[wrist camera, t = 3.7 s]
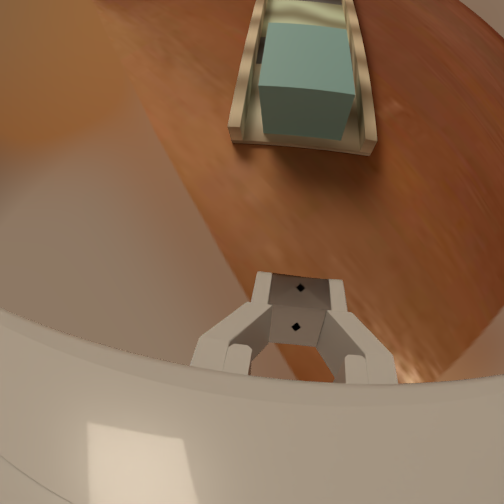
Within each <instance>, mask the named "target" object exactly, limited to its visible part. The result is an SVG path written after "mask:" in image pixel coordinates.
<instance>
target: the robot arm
mask: <svg viewBox="0 0 504 504" xmlns="http://www.w3.org/2000/svg"><path fill="white" fill-rule="evenodd" d="M268 342H272V343H284V344H296V345H304V346H313V347H316V348H317V350H318V352H319V353H320V355H321V356H322V358H323V360H324V361H325V363H326V364H327V366H328V367H329V369H330V371H331V372H332V374H333V375H334V377H335V380H334V382H333V383H326V382H310V381H297V380H286V379H275V378H267V377H258V376H251V375H250V374H251V362H252V360H253V359H254V358H255V357H256V356H257V355H258V354H259V353H260V352H261V351H262V350H263V349H264V348H265V346H266V345H267V344H268ZM0 504H504V374H502V375H495V376H489V377H481V378H474V379H464V380H455V381H442V382H428V383H405V384H398V380H397V375H396V369H395V364H394V359H393V355H392V354H391V353H390V352H389V351H388V350H387V349H386V348H385V347H384V345H383V344H382V343H381V342H380V341H379V340H378V339H377V338H376V337H375V336H374V335H373V334H372V333H371V332H370V331H369V330H368V329H367V328H366V327H365V326H364V325H363V324H362V323H361V321H360V320H359V319H358V318H357V317H356V316H355V315H354V314H353V313H352V312H348V311H347V304H346V297H345V291H344V284H343V281H342V280H337V279H320V278H309V277H301V276H293V275H285V274H277V273H273V274H272V273H268V272H260V271H258V273H257V276H256V280H255V285H254V290H253V295H252V300H251V302H246V303H245V304H243V305H242V306H241V307H239V308H238V309H237V310H235V311H234V312H233V313H231V314H230V315H229V316H227V317H226V318H225V319H223V320H222V321H221V322H219V323H218V324H217V325H215V326H214V327H213V328H211V329H210V330H208V331H207V332H206V333H204V334H203V335H202V336H200V337H199V340H198V343H197V346H196V349H195V352H194V354H193V358H192V360H191V363H190V366H189V365H184V364H179V363H174V362H170V361H165V360H161V359H156V358H152V357H148V356H144V355H139V354H136V353H131V352H128V351H124V350H120V349H117V348H113V347H110V346H106V345H103V344H99V343H96V342H92V341H89V340H86V339H83V338H80V337H77V336H74V335H70V334H68V333H65V332H62V331H59V330H56V329H53V328H50V327H48V326H45V325H42V324H39V323H37V322H34V321H32V320H29V319H27V318H24V317H22V316H19V315H17V314H15V313H12V312H10V311H8V310H6V309H3V308H1V307H0Z"/></svg>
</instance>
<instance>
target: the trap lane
mask: <svg viewBox="0 0 504 504" xmlns="http://www.w3.org/2000/svg"><path fill="white" fill-rule="evenodd" d="M268 22H269V23H292V24H305V25H316V26H325V27H332V28H340V29H346V30H347V36H348V42H349V48H350V55H351V62H352V70H353V78H354V87H355V97H354V101H353V104H352V107H351V110H350V114H349V117H348V120H347V123H346V126H345V129H344V132H343V136H342V139H341V141H339V140H332V139H323V138H315V137H305V136H294V135H282V134H267V133H263V124H262V115H261V106H260V97H259V88H258V84H259V78H260V71H261V65H262V59H263V53H264V46H265V40H266V34H267V28H268ZM228 130H229V134H230V137H231V141H232V143H244V144H263V145H277V146H290V147H301V148H311V149H320V150H328V151H336V152H344V153H351V154H358V155H365V156H370V154H371V152H372V150H373V148H374V147H375V145H376V143H377V132H376V122H375V113H374V105H373V98H372V91H371V84H370V78H369V72H368V66H367V61H366V55H365V50H364V45H363V41H362V36H361V32H360V27H359V23H358V19H357V15H356V11H355V7H354V3H353V0H256V3H255V7H254V11H253V14H252V18H251V22H250V26H249V31H248V35H247V39H246V43H245V47H244V52H243V56H242V60H241V65H240V69H239V74H238V78H237V83H236V88H235V92H234V97H233V102H232V107H231V112H230V116H229V121H228Z"/></svg>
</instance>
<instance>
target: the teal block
mask: <svg viewBox="0 0 504 504" xmlns="http://www.w3.org/2000/svg"><path fill="white" fill-rule="evenodd" d="M258 88H259V97H260V106H261V115H262V124H263V133H267V134H282V135H294V136H305V137H315V138H323V139H332V140H339V141H341V139H342V136H343V132H344V129H345V126H346V123H347V120H348V117H349V114H350V110H351V107H352V104H353V101H354V97H355V87H354V78H353V70H352V62H351V55H350V48H349V42H348V36H347V30H346V29H340V28H332V27H325V26H316V25H305V24H292V23H269V22H268V28H267V34H266V40H265V46H264V53H263V59H262V65H261V71H260V78H259V84H258Z"/></svg>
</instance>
